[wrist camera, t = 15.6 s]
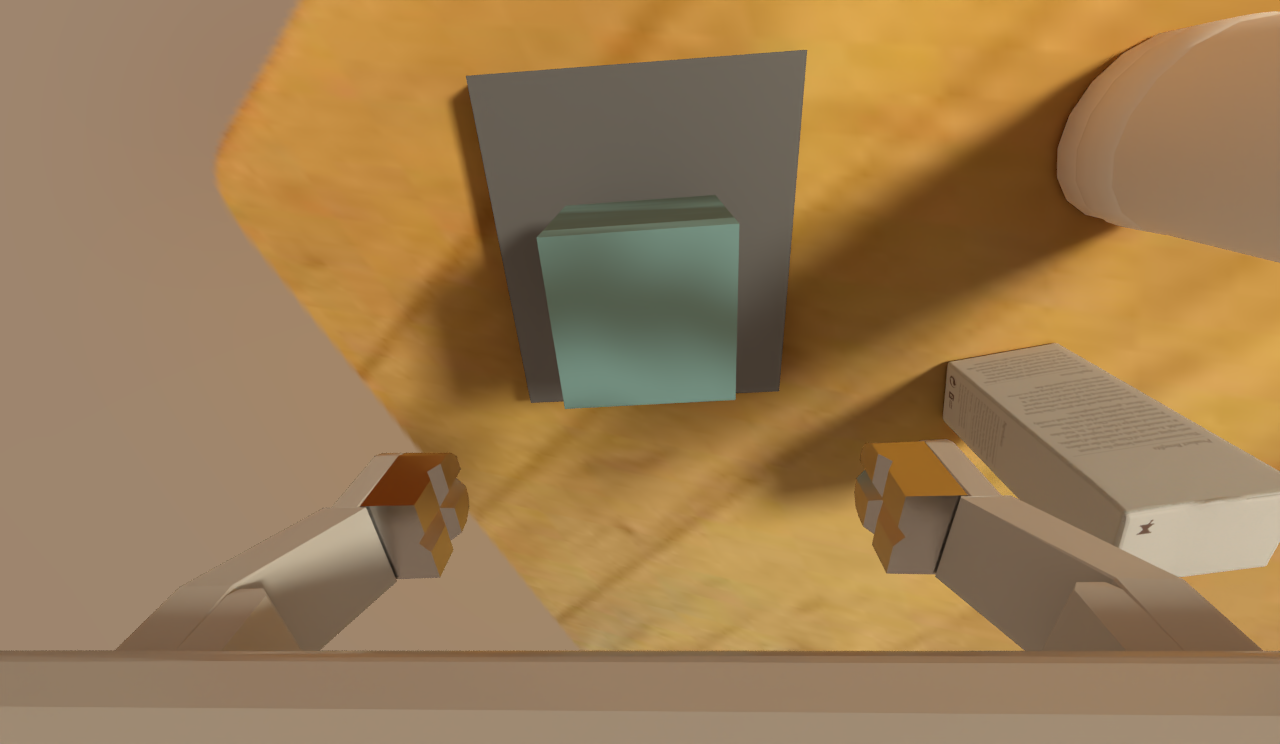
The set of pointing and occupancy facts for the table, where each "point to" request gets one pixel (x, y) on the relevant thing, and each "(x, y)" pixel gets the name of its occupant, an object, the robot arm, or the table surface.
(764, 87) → the post block
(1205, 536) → the skincare box
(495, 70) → the table surface
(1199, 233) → the bottle
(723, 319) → the sage green cube
